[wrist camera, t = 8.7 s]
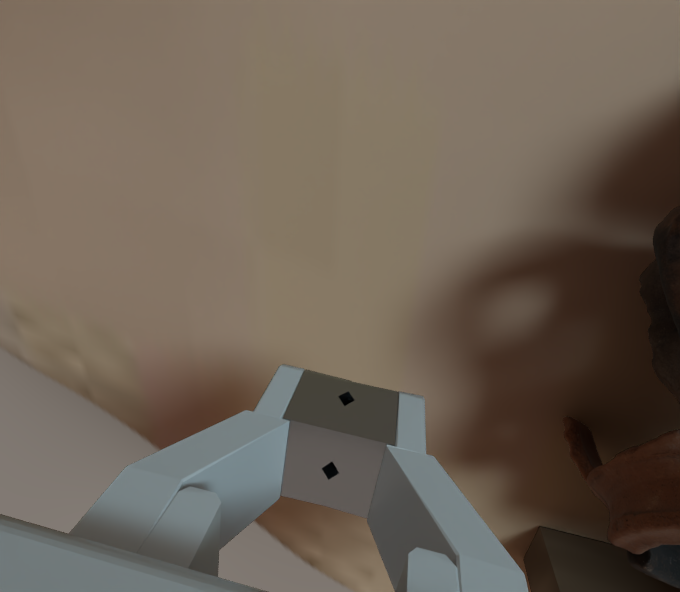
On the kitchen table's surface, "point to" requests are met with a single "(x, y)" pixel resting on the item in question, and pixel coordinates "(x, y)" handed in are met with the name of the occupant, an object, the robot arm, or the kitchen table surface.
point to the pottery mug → (656, 455)
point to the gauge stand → (583, 566)
